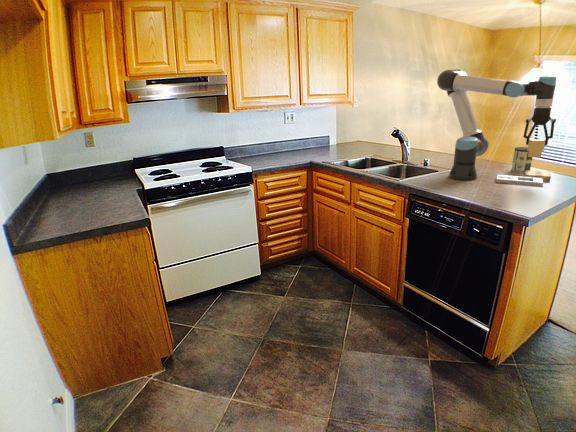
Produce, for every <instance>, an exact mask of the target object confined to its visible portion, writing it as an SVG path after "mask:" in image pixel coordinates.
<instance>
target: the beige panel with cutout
mask: <svg viewBox="0 0 576 432" xmlns="http://www.w3.org/2000/svg"><path fill="white" fill-rule="evenodd" d="M495 182H496V183H499V184H512V185H523V186H534V187H535V186H536V187H543V185H544V181H543V180H542V178H535V177H524V176H523V175H522V176H521V175H520V176H519V175H508V174H507V175H505V174H497V175H496V181H495Z"/></svg>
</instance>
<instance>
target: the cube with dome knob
mask: <svg viewBox="0 0 576 432" xmlns="http://www.w3.org/2000/svg"><path fill="white" fill-rule="evenodd" d="M530 139H531V141H530V147H529V153H528V157H532V158H541V157H542V153H543V152H542V148H543V143H544V139H545V138H530Z"/></svg>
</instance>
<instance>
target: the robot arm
mask: <svg viewBox="0 0 576 432" xmlns="http://www.w3.org/2000/svg"><path fill="white" fill-rule="evenodd" d="M556 82H557V76H555V75H547V76H540V77H539V78H538V80H518V81H517V80H507V79H498V78H489V77H488V78H487V77H480V76H472V75H468V74H467V73H466V71H464V70H462V69H446V70H443V71H442V72H441V73H440V74H439V75H438V77H437V81H436V83H437V86H438V88H439V89H441V90H442V91H446V94H447V97H450V98H451V101H452V103H453V107H454V109H455V112H456V116H457V119H458V123H459V125H460V128H461V131H462V136H461V137H459V138H457V139H456V141H455V146H454V147H455V148H454V155H453V156H454V157H453V164H452V167H451V169H450V171H449V173H448V178H449V179H452V180H457V181H473V180H474V181H475V180H476V179H478V178H477V177H478V174H477V169H476V161H477V157H480V156H482V155H484V154H486V152H487V151H488V149H489V146H490V145H489V144H490V143H489V140H488V139H487V138H486V136H484V133H483V131H482V130H480V129H479V127H478V124H477V121H476V120H477V119H476V118H475V115H474V112H473V108H472V105H471V102H470V99H469V95H468V92H467V91H469V92H475V93H483V94H491V95H500V96H505V97H506V96H507V97H509V98H518V97H523V96H524V97H527V96H533V97H534V96H536V97H535V103H534V108H533V114H532V116H531V118H526V119H525V123H526V124H525V127H524V132H523V136H522V137H523V138H524V139H526V141H525V145H527V147H528V149H527V151H529V147H530V141H531V139H532V138H531V136H532V134H533V132H534V131H535V129H536V126H543V130H544V136H545V138H543V139H544V143H543V148H542V153H543V152H544V151H545V146H548V143H549V140H551V139H553V137H554V129H555V123H556V121H557V119H556V118H551V113H552V108H551V107H552V106H553V101H554V95H555V90H556V85H557V84H556ZM531 122H532V123H533V125H532V127H531V129H530V131H529V133H528V130H529V125H530V123H531ZM549 122H550V123H551V125H550V133H549V134H548V127H547V123H549ZM527 133H528V134H527Z"/></svg>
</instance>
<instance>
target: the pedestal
mask: <svg viewBox="0 0 576 432" xmlns="http://www.w3.org/2000/svg"><path fill="white" fill-rule="evenodd" d="M523 174H524V175H523V177H535V178H542V180H543V182H547V181H550V182H551V178H552V175H551V173H550V171H543V170H541V171H540V170H531V169H530V170H525V173H523Z"/></svg>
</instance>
